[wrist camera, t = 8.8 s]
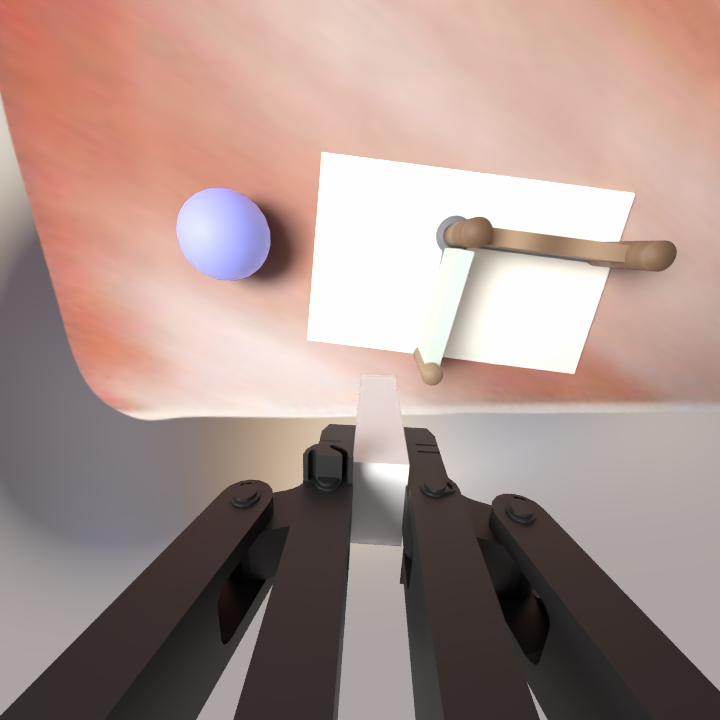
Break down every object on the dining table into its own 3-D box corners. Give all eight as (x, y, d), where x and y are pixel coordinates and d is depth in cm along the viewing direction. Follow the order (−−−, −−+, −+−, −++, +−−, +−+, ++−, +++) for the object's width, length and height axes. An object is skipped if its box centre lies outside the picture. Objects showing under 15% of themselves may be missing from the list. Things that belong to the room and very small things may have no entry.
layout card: (632, 193, 29) (636, 193, 28) (571, 372, 34) (574, 374, 34) (322, 153, 29) (321, 151, 28) (308, 338, 34) (307, 340, 33)
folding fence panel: (442, 247, 30) (459, 248, 24) (460, 251, 30) (481, 253, 24) (411, 359, 33) (419, 383, 27) (427, 363, 33) (439, 387, 28)
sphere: (237, 175, 30) (198, 155, 23) (296, 239, 31) (275, 237, 24) (186, 235, 31) (136, 232, 25) (245, 292, 33) (212, 304, 26)
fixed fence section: (612, 243, 30) (681, 242, 23) (604, 267, 30) (669, 273, 24) (445, 221, 30) (466, 214, 23) (440, 246, 30) (460, 246, 24)
